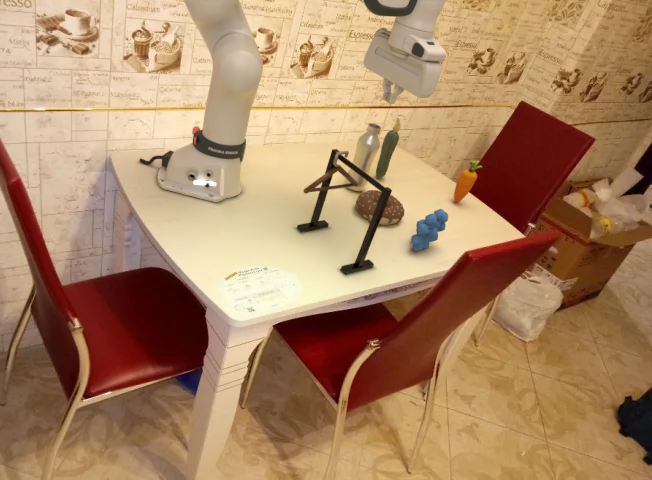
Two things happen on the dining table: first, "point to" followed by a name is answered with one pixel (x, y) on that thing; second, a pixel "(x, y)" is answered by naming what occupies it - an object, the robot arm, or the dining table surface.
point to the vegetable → (388, 150)
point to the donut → (369, 202)
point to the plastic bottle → (365, 155)
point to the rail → (360, 260)
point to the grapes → (429, 229)
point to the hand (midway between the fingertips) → (387, 101)
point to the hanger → (337, 168)
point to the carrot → (466, 181)
